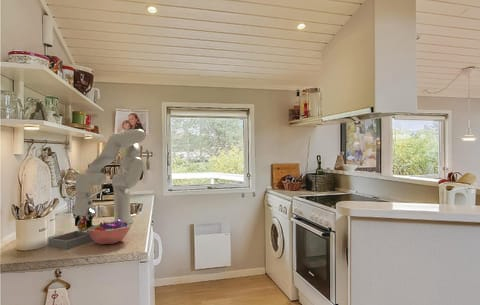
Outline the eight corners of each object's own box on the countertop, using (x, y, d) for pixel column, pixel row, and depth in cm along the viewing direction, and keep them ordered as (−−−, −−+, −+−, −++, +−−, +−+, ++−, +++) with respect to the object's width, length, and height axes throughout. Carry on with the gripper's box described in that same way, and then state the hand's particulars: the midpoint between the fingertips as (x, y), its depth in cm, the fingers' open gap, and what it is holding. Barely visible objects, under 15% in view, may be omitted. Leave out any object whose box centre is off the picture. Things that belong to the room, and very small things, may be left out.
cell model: (90, 240, 151) (89, 218, 151) (131, 235, 158) (131, 214, 158) (85, 250, 135) (85, 226, 135) (132, 245, 142) (131, 221, 142)
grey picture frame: (76, 237, 156) (76, 230, 156) (94, 240, 151) (94, 233, 151) (48, 245, 143) (48, 238, 143) (66, 249, 137) (66, 241, 137)
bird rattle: (77, 237, 163) (91, 231, 163) (69, 219, 163) (83, 212, 163) (84, 234, 169) (97, 228, 169) (76, 216, 170) (90, 210, 169)
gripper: (100, 195, 166) (100, 226, 166) (78, 193, 173) (78, 223, 173) (88, 197, 159) (88, 229, 159) (66, 195, 166) (66, 226, 166)
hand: (83, 226), depth 166 cm, fingers closed on bird rattle, 8 cm apart
